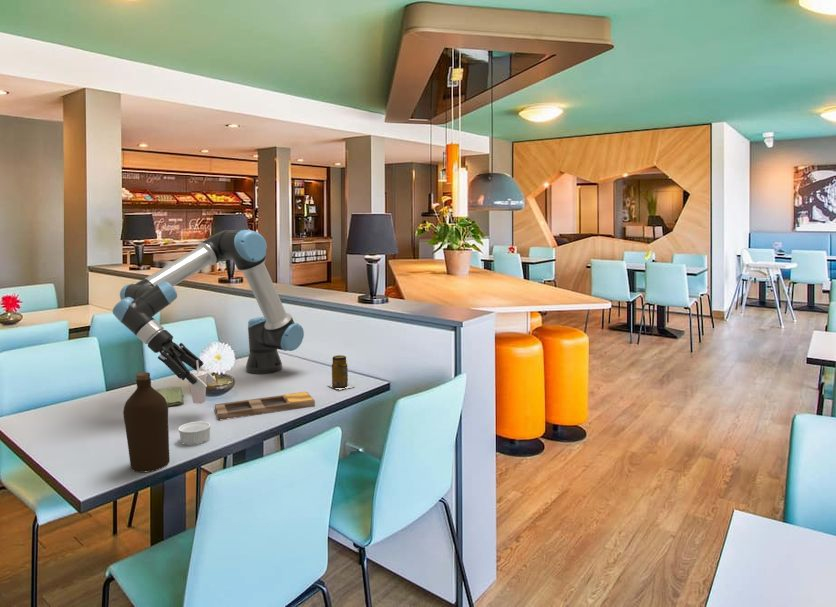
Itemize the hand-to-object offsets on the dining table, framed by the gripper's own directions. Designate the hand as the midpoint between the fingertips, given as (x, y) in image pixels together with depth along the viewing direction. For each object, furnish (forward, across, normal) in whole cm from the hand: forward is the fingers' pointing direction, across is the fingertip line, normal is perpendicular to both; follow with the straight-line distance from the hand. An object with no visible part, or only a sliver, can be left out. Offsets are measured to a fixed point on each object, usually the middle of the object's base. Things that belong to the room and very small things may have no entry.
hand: (208, 385), depth 184 cm
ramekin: (+10, +19, -6) cm, 22 cm away
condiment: (+34, -35, +18) cm, 52 cm away
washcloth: (-9, -17, -25) cm, 32 cm away
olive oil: (+7, +36, -8) cm, 38 cm away
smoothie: (+1, 0, -6) cm, 7 cm away
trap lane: (+18, -10, +3) cm, 21 cm away
